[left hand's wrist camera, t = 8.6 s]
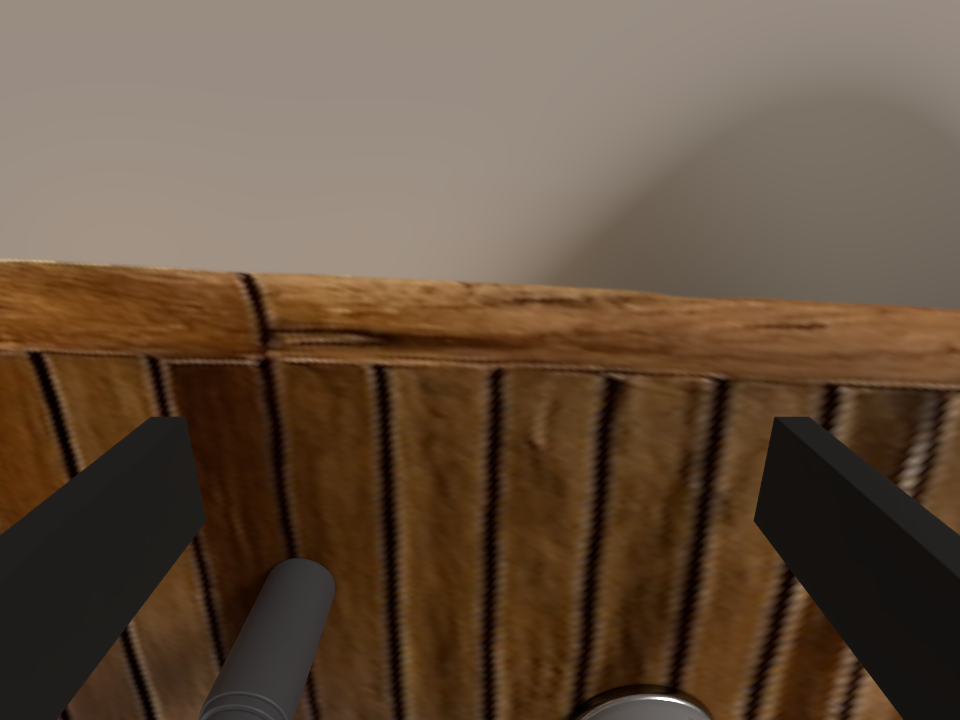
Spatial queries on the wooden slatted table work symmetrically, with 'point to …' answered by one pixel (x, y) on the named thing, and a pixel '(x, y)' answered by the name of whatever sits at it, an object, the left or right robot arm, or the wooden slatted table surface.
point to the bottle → (274, 646)
